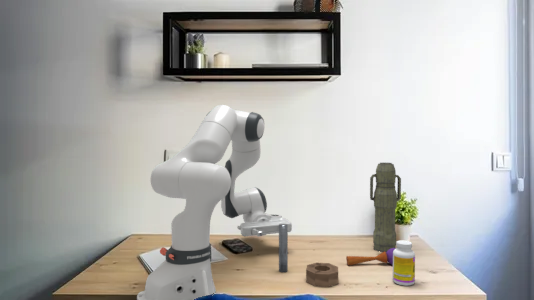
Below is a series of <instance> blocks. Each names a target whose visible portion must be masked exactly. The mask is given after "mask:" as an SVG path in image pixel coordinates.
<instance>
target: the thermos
mask: <svg viewBox="0 0 534 300" xmlns="http://www.w3.org/2000/svg"><path fill="white" fill-rule="evenodd" d="M374 178H375V189H374ZM396 178H397V189H396ZM401 190H402V178H401V177H400V176H399V174H397V173H396V167H395V165H394V163H393V162H379V163H378V164H377V166H376V169H375V173H374V174H372V175H371V176H370V177H369V199H370V201H373V206H374V230H373V236H372V237H373V238H372V239H373V240H372V241H373V242H372V243H373V250H374V251H376V252H379V251H380V253H382V252H384V251H385V252H387V251H388V250H389V249H391V248H397V246H396V242H397V232H396V209H397V206H398V204H397V203H398V201H400V200H401V197H402V195H401V194H402V191H401Z"/></svg>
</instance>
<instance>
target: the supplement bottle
mask: <svg viewBox="0 0 534 300" xmlns="http://www.w3.org/2000/svg"><path fill="white" fill-rule="evenodd" d="M412 247H413V243H412V242H411V241H409V240H405V239H404V240H403V239H401V240H396V249H395V250H394V251H393V265H392V282H393V283H395V284H397V285H400V286H407V287H409V286H413V285H414V284H415V282H416V281H415V279H416V253H415V251H414V250H413V248H412Z"/></svg>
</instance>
